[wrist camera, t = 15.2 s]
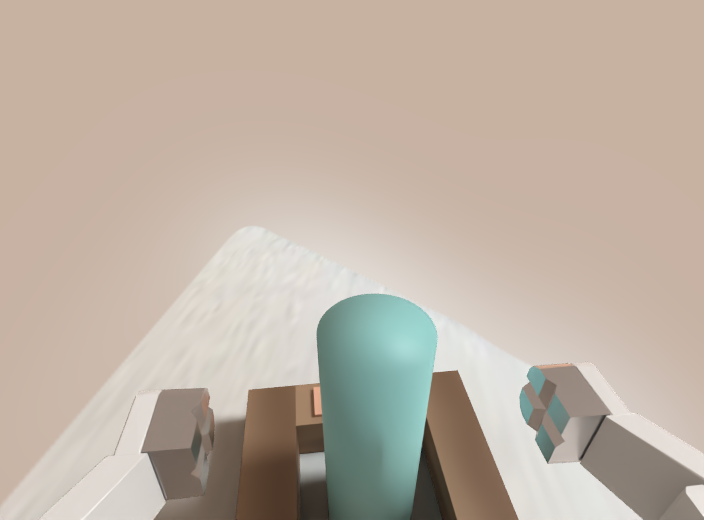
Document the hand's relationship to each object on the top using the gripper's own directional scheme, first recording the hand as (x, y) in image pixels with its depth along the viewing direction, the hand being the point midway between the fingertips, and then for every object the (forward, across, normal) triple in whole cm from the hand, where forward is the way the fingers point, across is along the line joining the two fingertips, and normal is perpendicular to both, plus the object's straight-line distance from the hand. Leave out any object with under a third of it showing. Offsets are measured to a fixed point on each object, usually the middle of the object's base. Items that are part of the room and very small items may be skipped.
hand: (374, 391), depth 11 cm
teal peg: (+4, -1, +13) cm, 14 cm away
